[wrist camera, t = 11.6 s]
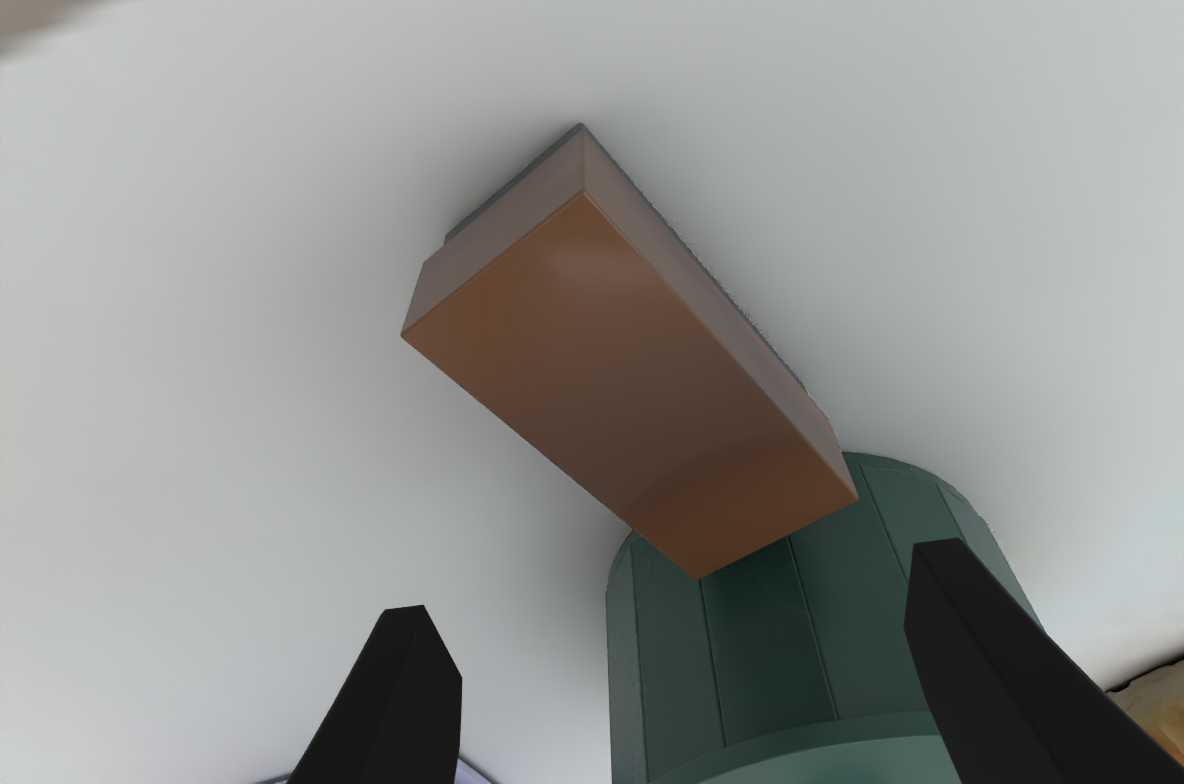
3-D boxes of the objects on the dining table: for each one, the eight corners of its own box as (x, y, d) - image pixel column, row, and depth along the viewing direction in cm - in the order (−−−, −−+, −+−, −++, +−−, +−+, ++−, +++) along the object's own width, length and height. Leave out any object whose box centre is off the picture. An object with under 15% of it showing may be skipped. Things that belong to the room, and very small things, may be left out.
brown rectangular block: (431, 234, 16) (398, 336, 13) (582, 105, 15) (583, 189, 12) (678, 466, 21) (695, 582, 18) (816, 387, 19) (860, 500, 16)
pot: (692, 716, 29) (721, 955, 23) (539, 537, 22) (525, 806, 16) (1013, 629, 26) (1142, 882, 20) (942, 391, 19) (1102, 661, 13)
